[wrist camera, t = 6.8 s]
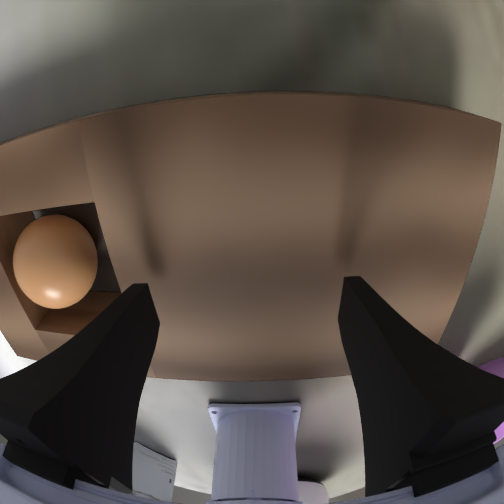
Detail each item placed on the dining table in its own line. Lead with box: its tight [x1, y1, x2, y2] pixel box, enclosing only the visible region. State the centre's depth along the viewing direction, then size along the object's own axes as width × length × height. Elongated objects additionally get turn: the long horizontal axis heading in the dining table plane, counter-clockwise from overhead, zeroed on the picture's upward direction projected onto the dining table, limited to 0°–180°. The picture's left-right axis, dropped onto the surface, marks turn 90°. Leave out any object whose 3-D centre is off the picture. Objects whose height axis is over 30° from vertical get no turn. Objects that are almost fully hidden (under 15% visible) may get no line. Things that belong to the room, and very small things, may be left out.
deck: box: [0, 91, 501, 381], centre depth 14 cm, size 14×28×4 cm, turn 93°
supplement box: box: [130, 442, 177, 502], centre depth 28 cm, size 7×7×13 cm
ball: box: [13, 214, 98, 309], centre depth 14 cm, size 5×5×5 cm
